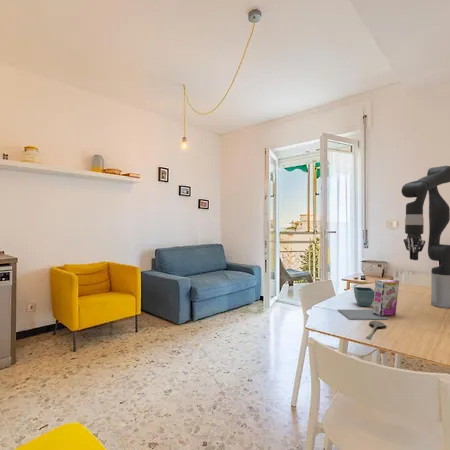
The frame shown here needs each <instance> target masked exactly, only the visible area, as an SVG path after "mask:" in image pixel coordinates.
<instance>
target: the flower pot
mask: <svg viewBox="0 0 450 450" xmlns="http://www.w3.org/2000/svg"><path fill="white" fill-rule="evenodd" d="M353 291H354V292H353V293H354V298H355V301H356V303H357V305H359V307H371V306H372V305H373V301H374V292H375V289H373V288H371V287H361V286H353Z"/></svg>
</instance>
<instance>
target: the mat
mask: <svg viewBox="0 0 450 450" xmlns="http://www.w3.org/2000/svg"><path fill="white" fill-rule="evenodd" d="M337 311H338V313H340V314H341V315H343V316H344V317H345V318H346V319H347V320H349V321H389V318H388V317H386V316H379V315H376V314H373V313H372V311H373V309H337Z"/></svg>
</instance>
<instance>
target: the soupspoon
mask: <svg viewBox="0 0 450 450" xmlns="http://www.w3.org/2000/svg"><path fill="white" fill-rule="evenodd" d="M368 323H369V324H371V325H372V326H373V328H372V330H371V331H370V332H369V334H368V335H366V340H372V335H373V333H374V332H375V330H376V329H377V328H380V327H381V328H382V327H386V326H387V325H386V324H385V323H384V322H382V321H381V320H370V321H369V322H368Z"/></svg>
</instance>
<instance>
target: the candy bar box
mask: <svg viewBox="0 0 450 450" xmlns="http://www.w3.org/2000/svg"><path fill="white" fill-rule="evenodd" d="M374 283H375V285H374V291H375V292H374V300H373V303H372V310H373V311H372V313H373V314H376V315H379V316H384V317H386V316H395V315H396V314H397V304H398V296H399V286H400V282H399V281H396V280H392V279H375V281H374Z"/></svg>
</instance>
